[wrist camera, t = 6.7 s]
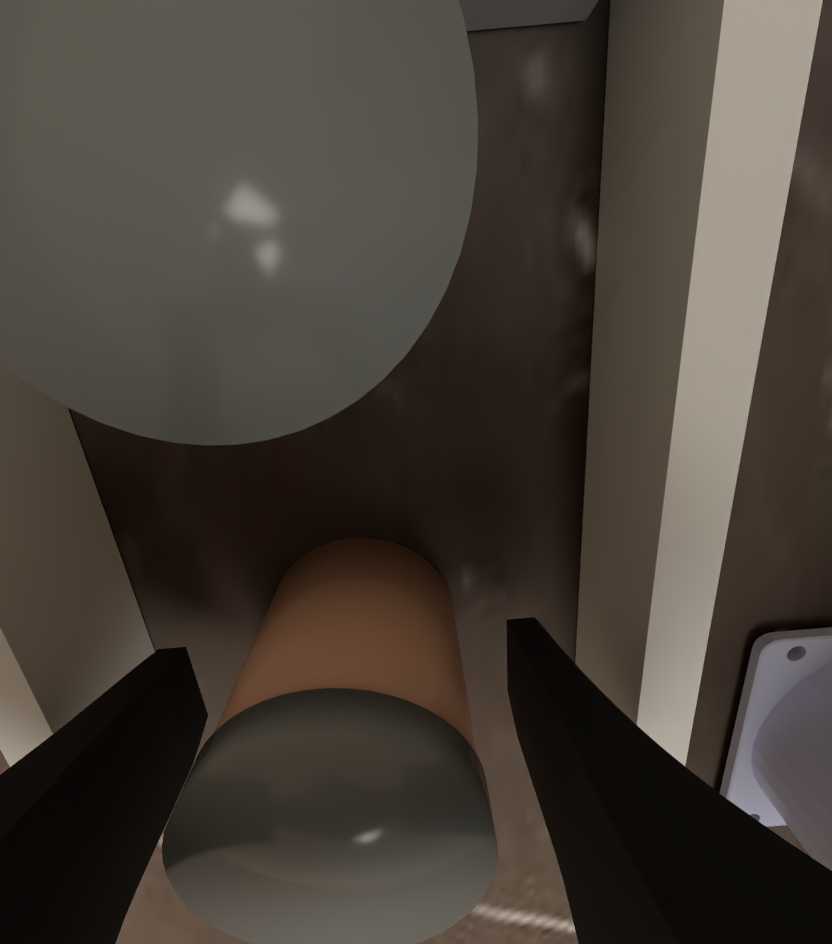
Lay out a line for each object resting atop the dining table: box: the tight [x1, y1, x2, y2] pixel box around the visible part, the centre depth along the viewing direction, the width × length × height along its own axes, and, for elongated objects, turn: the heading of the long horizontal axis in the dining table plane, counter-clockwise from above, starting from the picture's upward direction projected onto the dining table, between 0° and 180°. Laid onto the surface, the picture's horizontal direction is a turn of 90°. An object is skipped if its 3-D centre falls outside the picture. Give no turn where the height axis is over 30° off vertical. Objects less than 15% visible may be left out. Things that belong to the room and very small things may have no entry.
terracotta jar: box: [162, 538, 498, 944], centre depth 10 cm, size 5×5×6 cm
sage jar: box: [0, 0, 478, 446], centre depth 7 cm, size 5×5×6 cm
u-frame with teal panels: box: [0, 0, 823, 767], centre depth 9 cm, size 14×19×4 cm
